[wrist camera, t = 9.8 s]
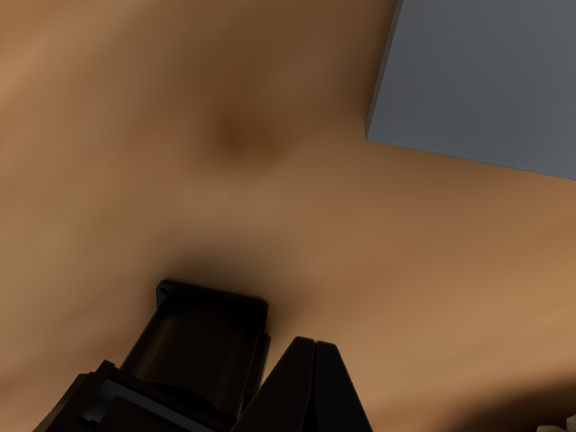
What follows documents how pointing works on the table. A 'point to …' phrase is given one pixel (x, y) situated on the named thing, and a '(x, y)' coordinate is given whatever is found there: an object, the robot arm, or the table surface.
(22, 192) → the table surface
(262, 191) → the table surface
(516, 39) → the slate board
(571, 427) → the pine cone
